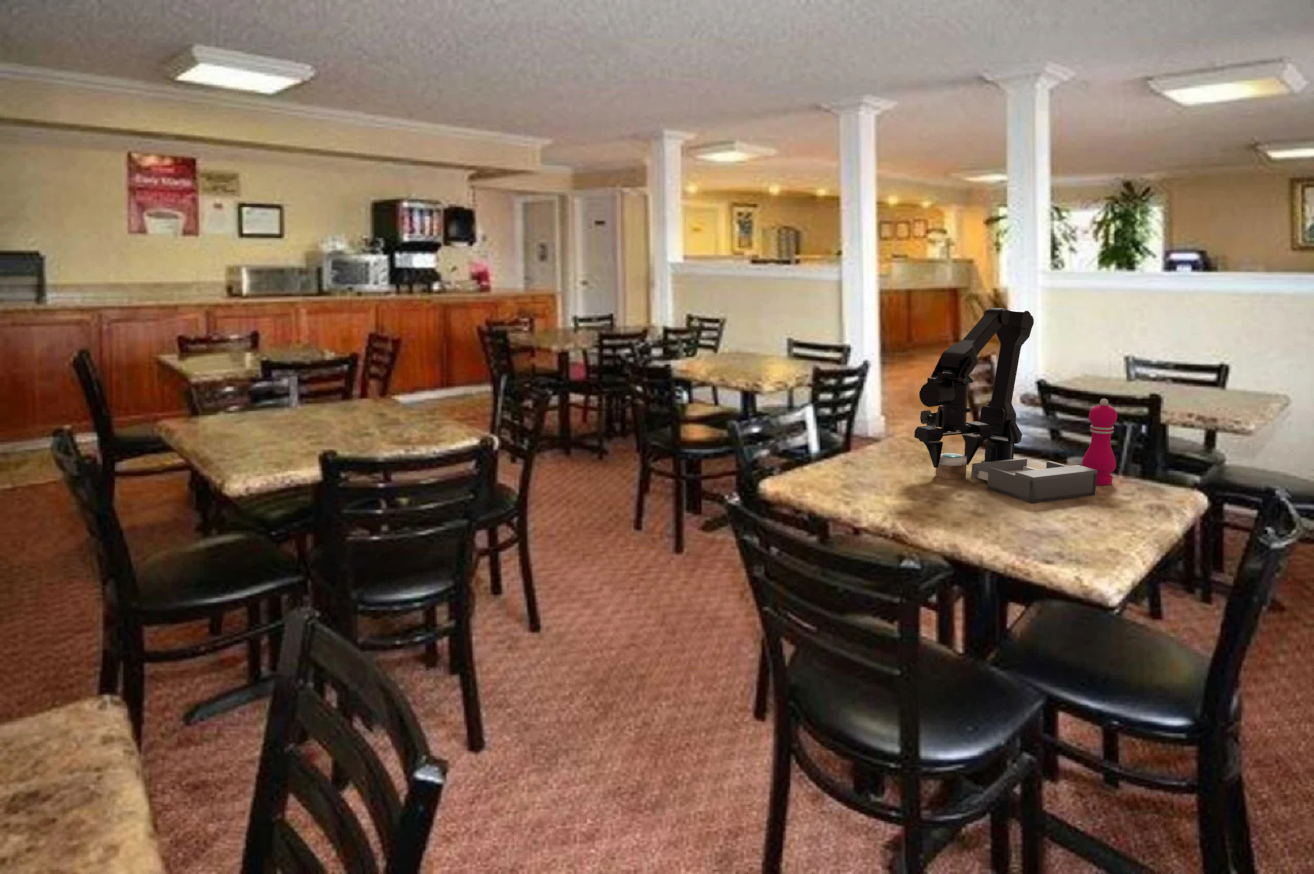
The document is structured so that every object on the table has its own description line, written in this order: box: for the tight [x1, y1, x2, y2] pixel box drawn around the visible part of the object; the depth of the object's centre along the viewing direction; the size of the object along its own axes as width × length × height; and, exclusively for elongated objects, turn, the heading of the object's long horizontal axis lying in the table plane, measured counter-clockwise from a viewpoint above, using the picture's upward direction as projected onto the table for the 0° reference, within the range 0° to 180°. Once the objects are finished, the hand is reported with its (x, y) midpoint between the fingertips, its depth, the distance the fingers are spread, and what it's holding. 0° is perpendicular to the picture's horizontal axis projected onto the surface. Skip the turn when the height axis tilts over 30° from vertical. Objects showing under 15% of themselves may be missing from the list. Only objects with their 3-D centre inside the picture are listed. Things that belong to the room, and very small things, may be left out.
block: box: [935, 464, 968, 481], centre depth 224 cm, size 5×5×4 cm
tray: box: [971, 457, 1038, 482], centre depth 215 cm, size 16×14×3 cm
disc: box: [939, 452, 967, 466], centre depth 223 cm, size 7×7×2 cm
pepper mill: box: [1081, 398, 1118, 486], centre depth 215 cm, size 7×7×20 cm
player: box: [986, 460, 1097, 504], centre depth 208 cm, size 18×14×6 cm
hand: (951, 466), depth 224 cm, fingers open, 9 cm apart
